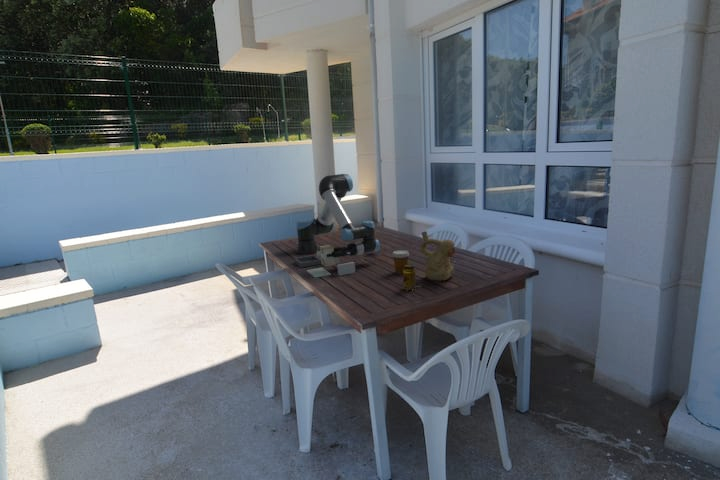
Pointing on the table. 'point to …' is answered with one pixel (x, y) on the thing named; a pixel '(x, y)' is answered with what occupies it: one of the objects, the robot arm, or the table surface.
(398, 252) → the disposable coffee cup
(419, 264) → the table surface
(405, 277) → the condiment
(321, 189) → the robot arm
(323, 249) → the birch block
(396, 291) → the table surface
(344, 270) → the walled passage
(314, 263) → the tray
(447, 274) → the ceramic vessel
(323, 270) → the pad
